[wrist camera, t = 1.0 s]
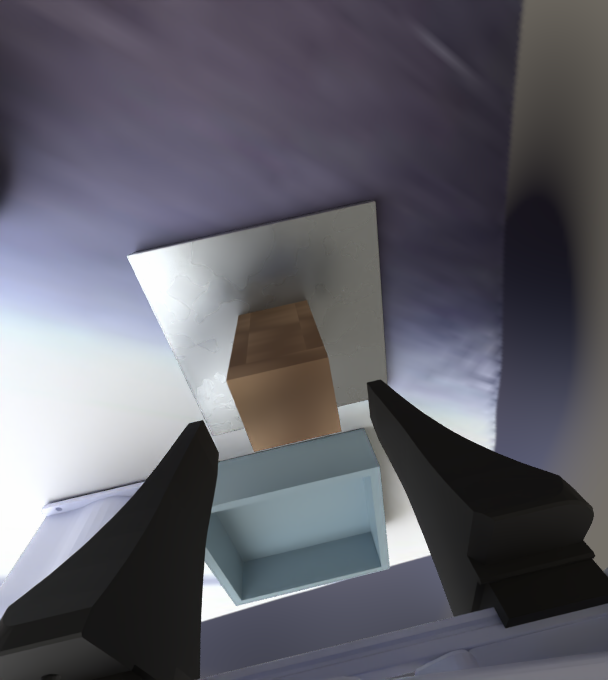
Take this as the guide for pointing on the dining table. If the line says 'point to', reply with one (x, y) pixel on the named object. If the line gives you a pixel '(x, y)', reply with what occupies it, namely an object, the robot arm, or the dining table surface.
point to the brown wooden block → (282, 377)
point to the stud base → (271, 298)
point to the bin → (297, 518)
